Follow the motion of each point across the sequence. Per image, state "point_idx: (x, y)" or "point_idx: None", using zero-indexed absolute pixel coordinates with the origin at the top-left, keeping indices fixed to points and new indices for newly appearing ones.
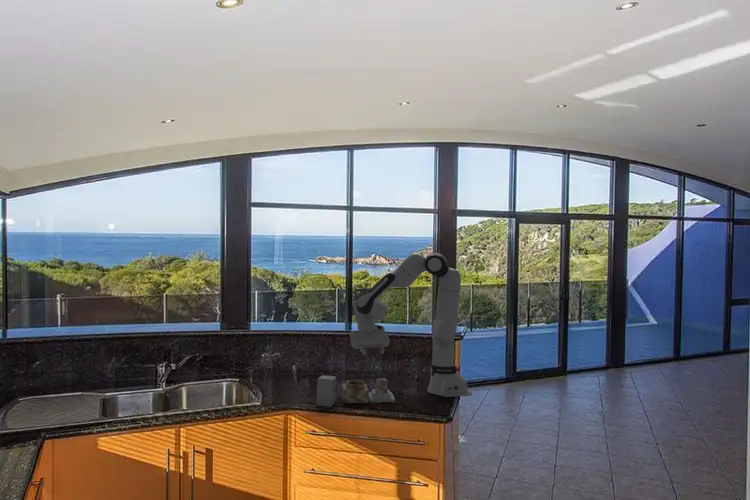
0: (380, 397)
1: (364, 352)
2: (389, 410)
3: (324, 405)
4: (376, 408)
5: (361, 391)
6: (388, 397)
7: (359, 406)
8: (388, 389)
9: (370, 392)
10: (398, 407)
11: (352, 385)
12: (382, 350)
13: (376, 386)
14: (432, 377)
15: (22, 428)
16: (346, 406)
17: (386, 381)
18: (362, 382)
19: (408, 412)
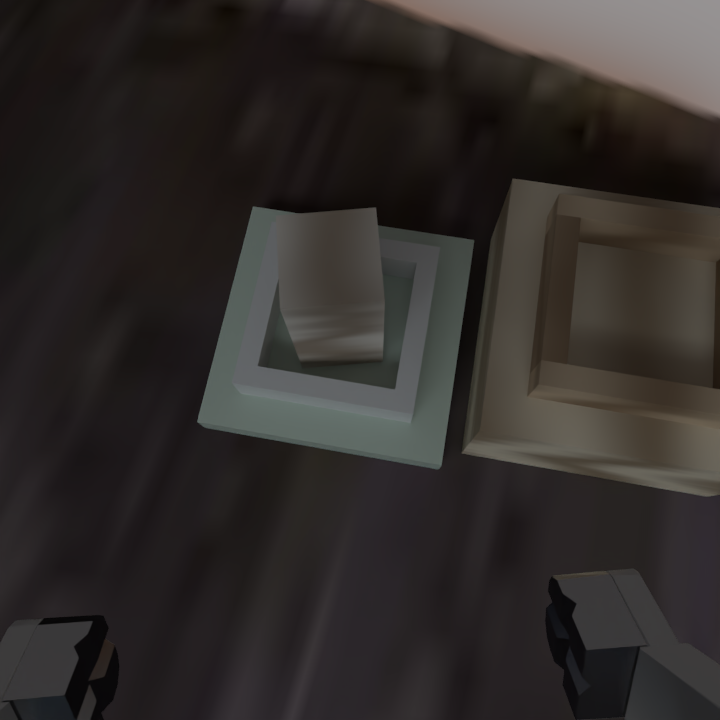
0: None
1: (623, 572)
2: (371, 58)
3: None
4: (457, 109)
5: (584, 195)
6: None
7: (582, 169)
8: (235, 380)
9: (414, 451)
10: (277, 109)
11: (700, 214)
12: (38, 650)
13: (383, 329)
14: None
15: None
16: (691, 183)
17: (288, 220)
18: (563, 306)
19: (249, 5)
